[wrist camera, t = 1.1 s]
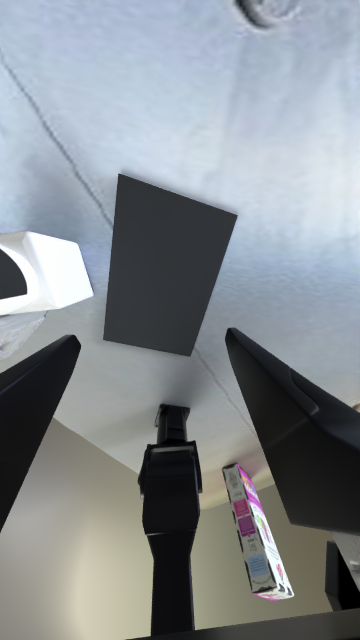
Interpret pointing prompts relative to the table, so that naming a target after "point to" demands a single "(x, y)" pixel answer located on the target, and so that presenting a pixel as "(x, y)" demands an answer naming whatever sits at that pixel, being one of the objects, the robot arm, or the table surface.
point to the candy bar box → (255, 538)
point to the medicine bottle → (40, 273)
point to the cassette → (17, 330)
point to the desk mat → (162, 266)
